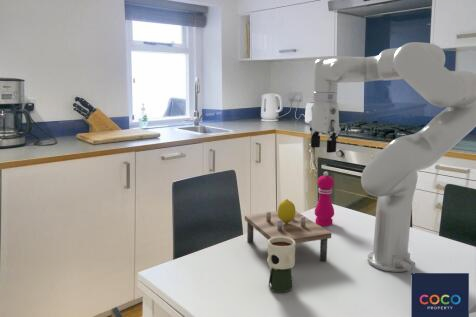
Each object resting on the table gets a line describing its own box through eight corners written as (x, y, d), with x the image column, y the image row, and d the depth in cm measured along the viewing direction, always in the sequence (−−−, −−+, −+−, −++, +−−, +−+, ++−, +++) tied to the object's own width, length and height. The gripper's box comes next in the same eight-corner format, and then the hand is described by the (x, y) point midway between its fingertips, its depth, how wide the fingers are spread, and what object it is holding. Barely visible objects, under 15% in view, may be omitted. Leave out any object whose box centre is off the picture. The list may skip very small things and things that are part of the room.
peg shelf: (330, 261, 127) (331, 223, 124) (275, 271, 120) (276, 231, 118) (292, 233, 148) (293, 200, 146) (244, 240, 142) (244, 206, 140)
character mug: (258, 281, 114) (259, 236, 112) (281, 276, 117) (282, 232, 115) (279, 301, 105) (280, 251, 102) (303, 294, 108) (305, 246, 105)
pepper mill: (319, 218, 164) (321, 168, 160) (337, 223, 159) (339, 171, 155) (310, 224, 158) (312, 171, 154) (328, 228, 154) (330, 174, 150)
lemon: (284, 219, 136) (285, 195, 135) (298, 223, 132) (299, 199, 131) (273, 223, 132) (274, 199, 131) (287, 228, 129) (288, 203, 127)
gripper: (350, 99, 131) (348, 153, 134) (320, 96, 147) (319, 145, 150) (330, 99, 128) (327, 155, 131) (301, 96, 144) (300, 146, 147)
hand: (323, 149), depth 141 cm, fingers open, 9 cm apart
